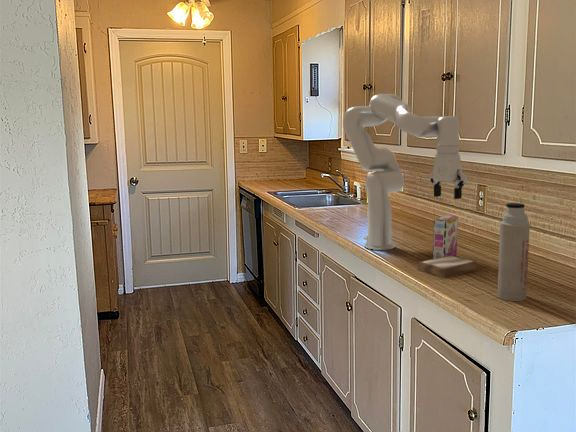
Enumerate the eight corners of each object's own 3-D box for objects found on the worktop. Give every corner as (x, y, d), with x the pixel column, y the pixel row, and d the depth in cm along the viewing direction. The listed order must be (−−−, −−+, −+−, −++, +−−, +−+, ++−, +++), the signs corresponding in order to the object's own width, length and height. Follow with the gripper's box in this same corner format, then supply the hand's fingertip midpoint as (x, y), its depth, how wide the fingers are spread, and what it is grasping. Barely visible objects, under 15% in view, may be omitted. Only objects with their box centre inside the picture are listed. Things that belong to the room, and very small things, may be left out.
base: (418, 270, 201) (418, 261, 200) (449, 263, 209) (449, 255, 209) (444, 277, 191) (444, 268, 190) (476, 270, 200) (476, 261, 199)
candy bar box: (445, 264, 208) (446, 220, 205) (432, 262, 211) (433, 219, 208) (457, 258, 217) (458, 215, 214) (445, 256, 220) (446, 214, 217)
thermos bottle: (531, 297, 169) (536, 203, 164) (516, 302, 164) (520, 206, 159) (507, 291, 175) (511, 200, 170) (491, 296, 170) (495, 203, 166)
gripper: (422, 150, 212) (422, 196, 215) (459, 151, 198) (459, 200, 200) (437, 149, 216) (436, 194, 219) (474, 150, 202) (473, 198, 204)
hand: (447, 197), depth 210 cm, fingers open, 9 cm apart
